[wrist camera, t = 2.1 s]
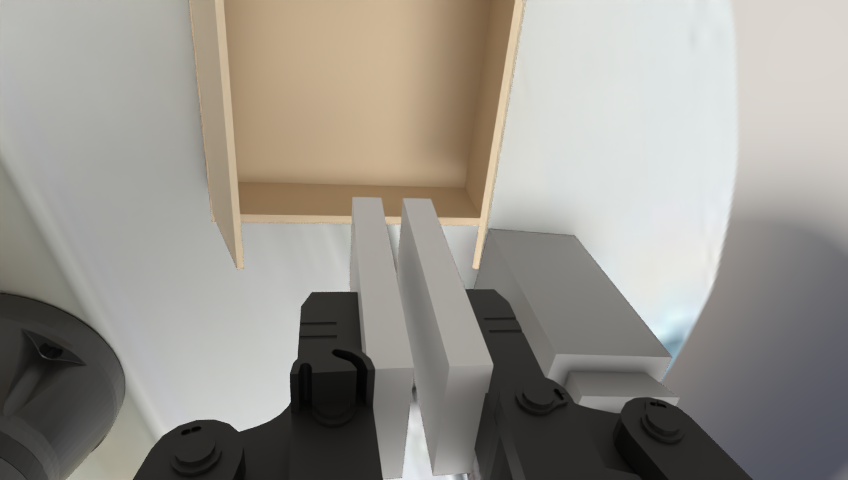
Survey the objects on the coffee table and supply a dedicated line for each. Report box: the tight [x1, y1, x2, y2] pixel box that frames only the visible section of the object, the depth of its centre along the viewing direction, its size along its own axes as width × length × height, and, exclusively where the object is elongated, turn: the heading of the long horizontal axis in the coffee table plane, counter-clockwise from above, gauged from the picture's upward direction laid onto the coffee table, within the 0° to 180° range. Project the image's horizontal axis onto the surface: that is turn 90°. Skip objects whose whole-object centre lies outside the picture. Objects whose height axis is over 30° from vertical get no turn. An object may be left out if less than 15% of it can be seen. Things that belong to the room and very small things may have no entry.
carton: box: [189, 0, 515, 225], centre depth 30 cm, size 16×15×5 cm
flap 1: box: [190, 0, 244, 270], centre depth 24 cm, size 6×13×1 cm
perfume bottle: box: [474, 229, 680, 414], centre depth 34 cm, size 7×7×18 cm
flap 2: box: [472, 0, 526, 269], centre depth 26 cm, size 6×13×1 cm
